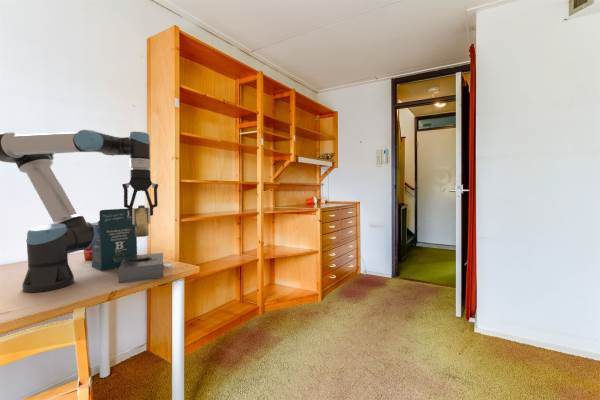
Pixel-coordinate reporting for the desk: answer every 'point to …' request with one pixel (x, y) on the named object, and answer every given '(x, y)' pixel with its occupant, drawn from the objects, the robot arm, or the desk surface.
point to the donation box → (113, 239)
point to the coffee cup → (88, 254)
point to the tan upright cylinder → (141, 221)
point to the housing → (141, 267)
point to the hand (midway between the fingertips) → (141, 223)
